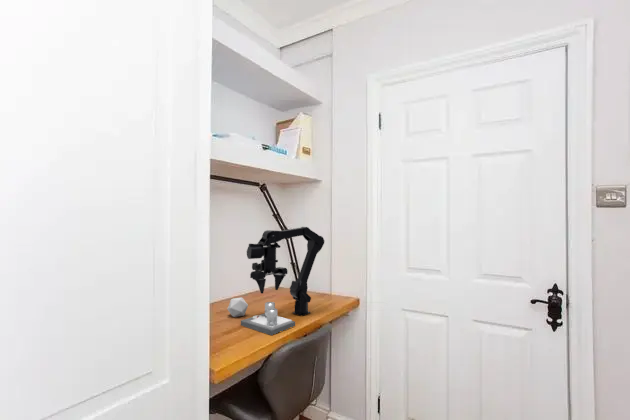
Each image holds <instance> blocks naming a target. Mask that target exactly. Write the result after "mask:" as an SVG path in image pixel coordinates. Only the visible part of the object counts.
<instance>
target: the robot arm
mask: <svg viewBox="0 0 630 420" xmlns="http://www.w3.org/2000/svg"><path fill="white" fill-rule="evenodd" d="M301 236H302V237H303V238H304V240H306V241H307V244H306V250H307V251H306V254H305V257H304V259H303V263H302V266H301V268H300V271H299V274H298V277H297V278H296V280H292V281H291V284H290V286H289V294H290V295H291V297H292V299H293V300H295V301H294V311H293V312H292V314H293V315H297V314H298V315H297V316H301V315H303V316H306V315H308V313H309V314H311V311H309V303H310V302H311V300H312V296H310V294H308V280H309V278H310V274H311V271H312V269H313V266H314V263H315V261H316V257H317V254H319V252H321V250H322V248H323V247H324V245H325V239H324V237H323V236H322V235H319V234H318V233H316V232H315V231H313V230H312V229H310V228H309V227H308V226H300V227H296V228H289V229H283V230H268V229H267V230H264V231H263V233H262V235H261V238H260V239H259V241H258V242H257V243H248V246H247V249H246V257H247V259H248V260H252V259H253V260H255V259H261V262H260V263H258V262H253V263H251V269H252V271H251V272H250V274H249V275H250V279H252V280H254V281H255V282H256V283H257V286H258V289H259V291H260V294H264V291H265V287H266V281H267V280H266V279H267V278H266V276H271V275H273V277H274V290H276V291H278V290H279V287H280V285H281V284H282V283H283V280H284V278H285V277H286V275H288V269H287V267H282V266H279V267H278V266H277V263H278V262H279V259H277V248H278V249H279V248H281V245H280V244H279V243H278V242H280V241H283V240H285V239H290V238H295V237H301ZM262 257H263V259H262ZM305 314H306V315H305Z"/></svg>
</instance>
